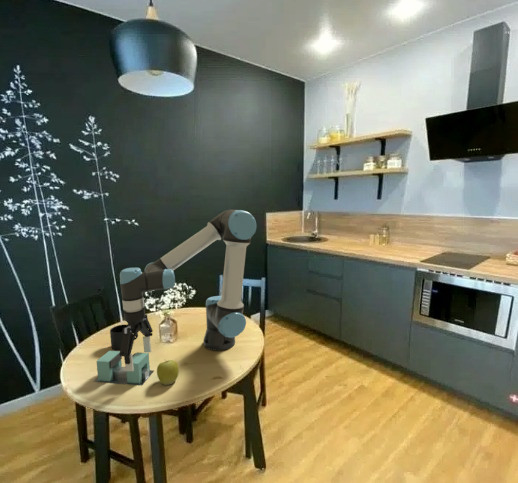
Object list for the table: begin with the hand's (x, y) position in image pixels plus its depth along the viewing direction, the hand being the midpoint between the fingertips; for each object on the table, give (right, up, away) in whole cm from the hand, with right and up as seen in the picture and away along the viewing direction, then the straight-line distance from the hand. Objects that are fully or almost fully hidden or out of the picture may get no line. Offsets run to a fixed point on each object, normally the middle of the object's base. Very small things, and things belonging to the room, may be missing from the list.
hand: (139, 360), depth 121 cm
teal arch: (0, -7, +1) cm, 7 cm away
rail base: (-6, -7, +2) cm, 10 cm away
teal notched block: (-12, -7, +2) cm, 14 cm away
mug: (-17, -4, +27) cm, 32 cm away
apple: (+12, -8, -2) cm, 14 cm away
